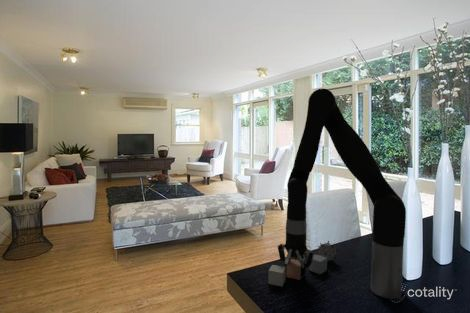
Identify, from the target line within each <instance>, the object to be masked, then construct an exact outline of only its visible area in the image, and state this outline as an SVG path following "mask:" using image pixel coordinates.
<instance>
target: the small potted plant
mask: <svg viewBox="0 0 470 313" xmlns="http://www.w3.org/2000/svg"><path fill="white" fill-rule="evenodd" d="M319 245H320V246H319ZM319 245H318V246H317V248H318V251H317V253H315V254H316V255H319V256H322V257H325V258H327V263H328V262H331V261H332V262H334V260H335V259H337V257H336V255H337V252H338V251H339V249H336V248H335V247H334V245H333V244H331V243H330V241H329V240H327V242H326V243H321V242H320V244H319Z"/></svg>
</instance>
